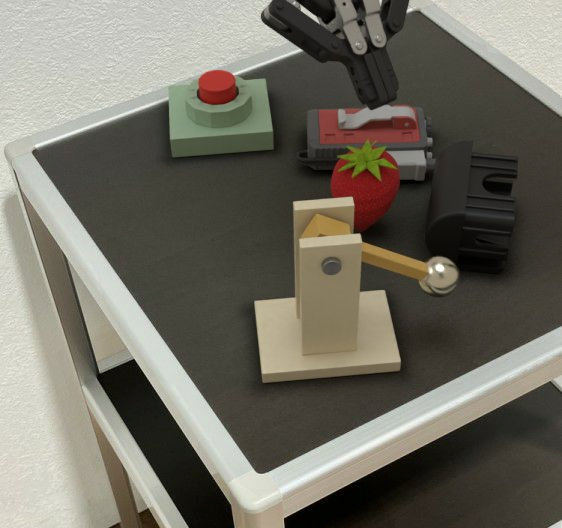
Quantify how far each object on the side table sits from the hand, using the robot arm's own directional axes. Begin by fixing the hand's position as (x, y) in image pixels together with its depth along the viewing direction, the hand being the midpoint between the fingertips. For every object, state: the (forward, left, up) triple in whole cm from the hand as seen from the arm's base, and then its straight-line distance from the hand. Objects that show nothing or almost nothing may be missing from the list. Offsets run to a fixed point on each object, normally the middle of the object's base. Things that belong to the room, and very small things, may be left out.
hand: (384, 104), depth 71 cm
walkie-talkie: (-5, -15, -17) cm, 23 cm away
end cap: (-9, -3, -17) cm, 19 cm away
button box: (+12, -22, -17) cm, 30 cm away
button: (+12, -22, -13) cm, 29 cm away
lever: (+1, +8, -10) cm, 13 cm away
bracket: (+5, +8, -17) cm, 19 cm away
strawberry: (0, -5, -17) cm, 18 cm away
